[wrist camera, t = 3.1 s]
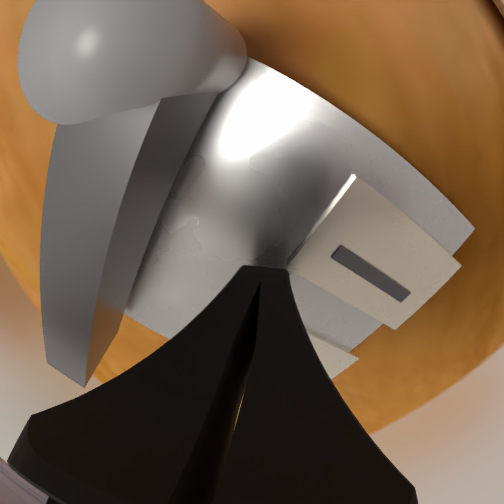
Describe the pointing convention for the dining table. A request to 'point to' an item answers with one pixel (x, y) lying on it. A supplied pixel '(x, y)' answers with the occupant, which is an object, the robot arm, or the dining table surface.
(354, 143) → the chassis plate
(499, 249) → the dining table surface
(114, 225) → the grey knobbed handle
